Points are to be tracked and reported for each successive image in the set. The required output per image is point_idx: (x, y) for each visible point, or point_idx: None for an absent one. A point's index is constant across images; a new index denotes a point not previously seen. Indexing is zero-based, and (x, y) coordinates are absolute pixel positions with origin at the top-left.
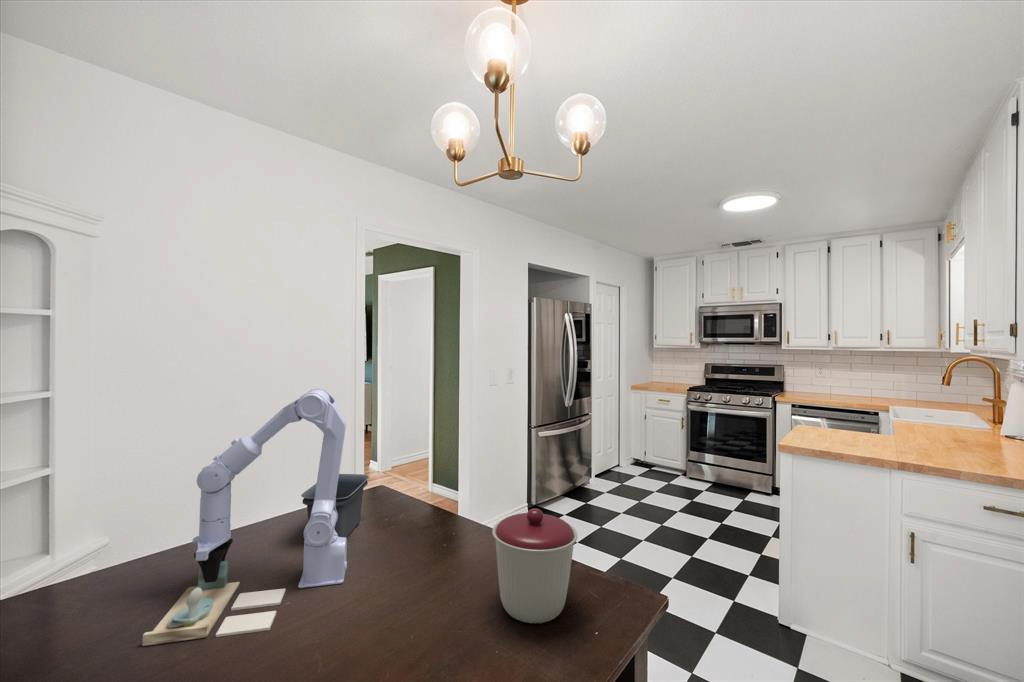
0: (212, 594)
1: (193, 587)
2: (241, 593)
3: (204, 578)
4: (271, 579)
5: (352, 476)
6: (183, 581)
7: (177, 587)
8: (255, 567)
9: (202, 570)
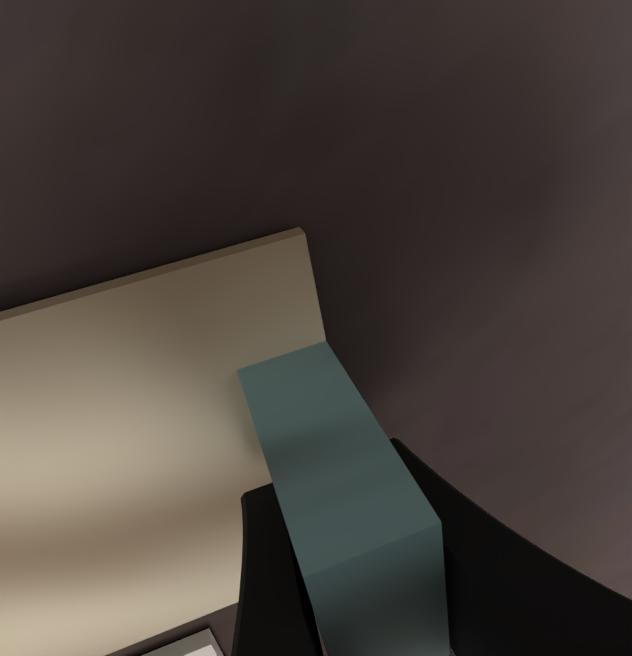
0: (178, 519)
1: (298, 287)
2: (212, 650)
3: (243, 534)
4: None
5: None
6: (481, 39)
7: (354, 57)
8: (571, 475)
9: (232, 647)
